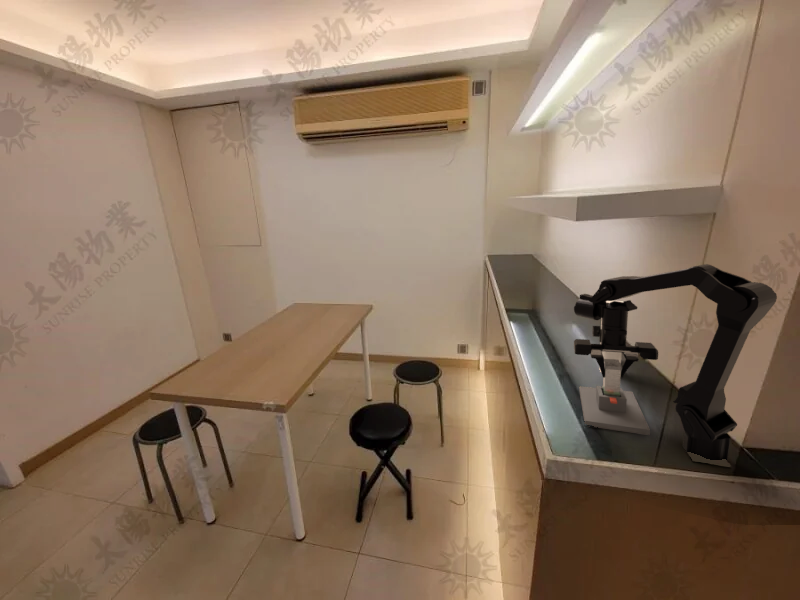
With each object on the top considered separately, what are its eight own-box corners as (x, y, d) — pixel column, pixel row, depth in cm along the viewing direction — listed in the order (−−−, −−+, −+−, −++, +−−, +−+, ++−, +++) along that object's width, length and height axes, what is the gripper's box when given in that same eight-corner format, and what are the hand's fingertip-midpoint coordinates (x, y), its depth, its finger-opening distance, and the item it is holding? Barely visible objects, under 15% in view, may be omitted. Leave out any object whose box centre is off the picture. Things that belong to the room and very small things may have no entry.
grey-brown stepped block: (616, 390, 93) (618, 359, 91) (620, 398, 88) (621, 366, 86) (602, 388, 94) (603, 358, 92) (604, 397, 90) (606, 365, 88)
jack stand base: (632, 396, 98) (633, 379, 97) (649, 435, 80) (651, 415, 79) (579, 390, 104) (579, 374, 103) (585, 425, 86) (585, 406, 85)
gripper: (649, 316, 90) (645, 369, 93) (573, 315, 98) (572, 363, 101) (661, 328, 80) (656, 386, 83) (575, 325, 88) (574, 378, 91)
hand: (611, 377), depth 90 cm, fingers closed on grey-brown stepped block, 3 cm apart
